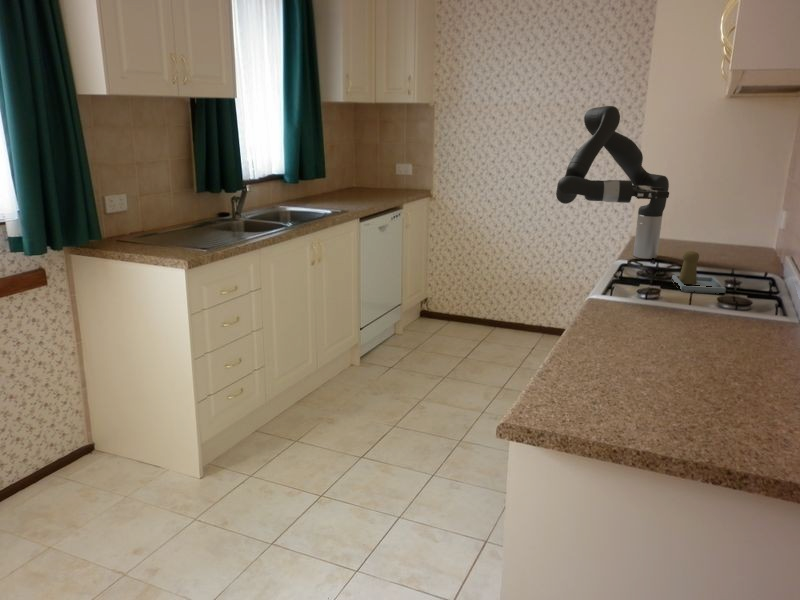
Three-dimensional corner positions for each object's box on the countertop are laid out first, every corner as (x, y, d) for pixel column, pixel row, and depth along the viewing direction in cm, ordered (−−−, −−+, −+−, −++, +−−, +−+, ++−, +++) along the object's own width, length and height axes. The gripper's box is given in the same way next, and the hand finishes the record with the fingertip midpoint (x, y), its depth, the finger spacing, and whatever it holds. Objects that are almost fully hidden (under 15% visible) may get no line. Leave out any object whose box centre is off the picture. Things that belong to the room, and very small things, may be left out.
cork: (699, 284, 227) (704, 253, 224) (682, 284, 227) (686, 253, 224) (692, 279, 233) (696, 249, 230) (675, 279, 233) (679, 249, 230)
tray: (671, 280, 235) (672, 275, 235) (713, 282, 233) (713, 277, 233) (681, 291, 222) (681, 286, 222) (724, 294, 220) (725, 288, 219)
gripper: (620, 183, 216) (672, 184, 214) (614, 177, 230) (663, 178, 227) (618, 205, 219) (669, 207, 216) (612, 198, 232) (660, 200, 230)
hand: (665, 192), depth 222 cm, fingers open, 8 cm apart
